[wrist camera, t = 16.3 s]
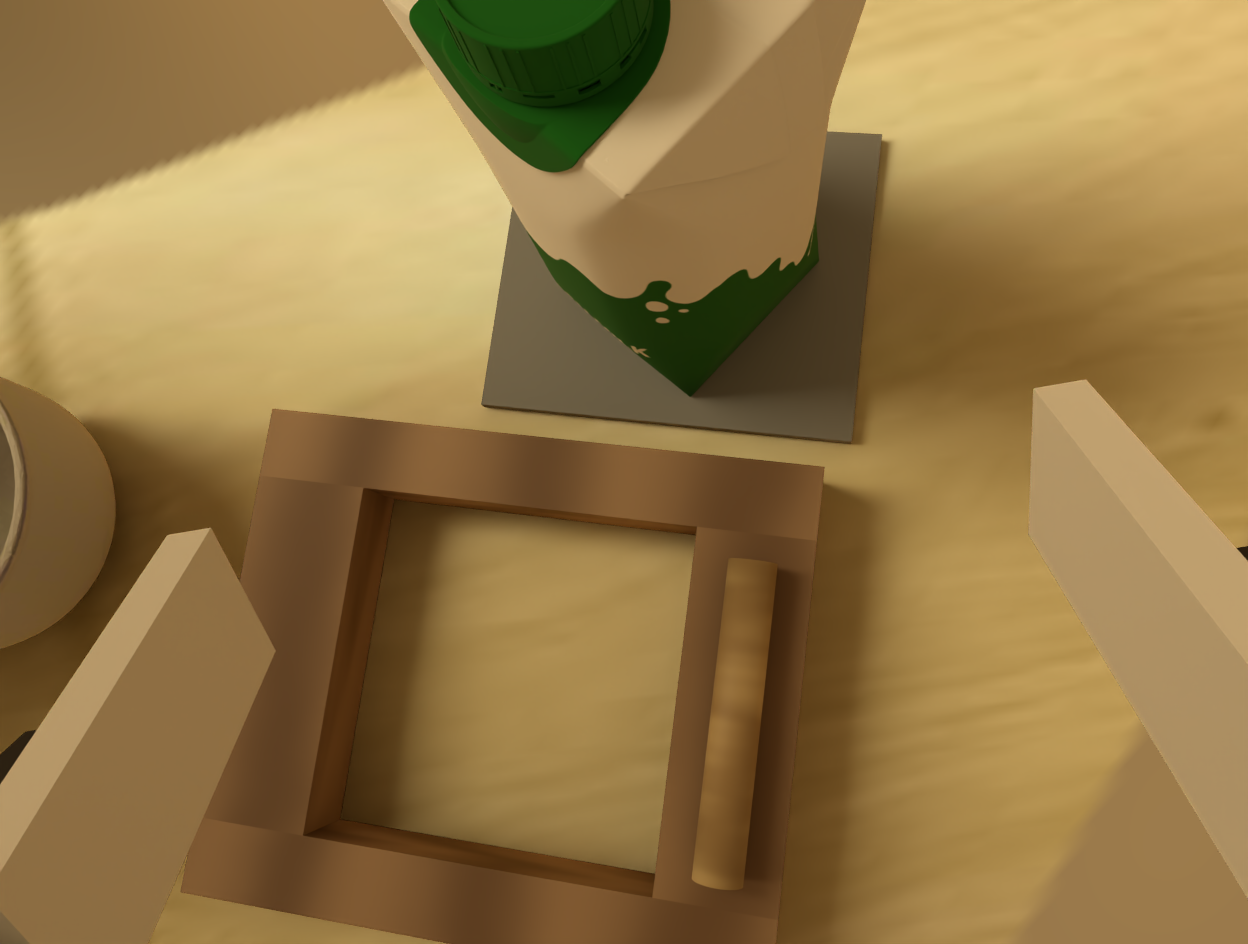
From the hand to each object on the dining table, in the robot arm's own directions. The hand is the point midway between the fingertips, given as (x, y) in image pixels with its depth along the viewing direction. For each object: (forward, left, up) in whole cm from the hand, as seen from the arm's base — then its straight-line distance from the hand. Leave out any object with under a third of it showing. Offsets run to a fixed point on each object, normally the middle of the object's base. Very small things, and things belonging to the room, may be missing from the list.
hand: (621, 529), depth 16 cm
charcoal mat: (-2, +12, -20) cm, 24 cm away
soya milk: (-2, +12, -20) cm, 23 cm away
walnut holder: (-6, -4, -20) cm, 22 cm away
